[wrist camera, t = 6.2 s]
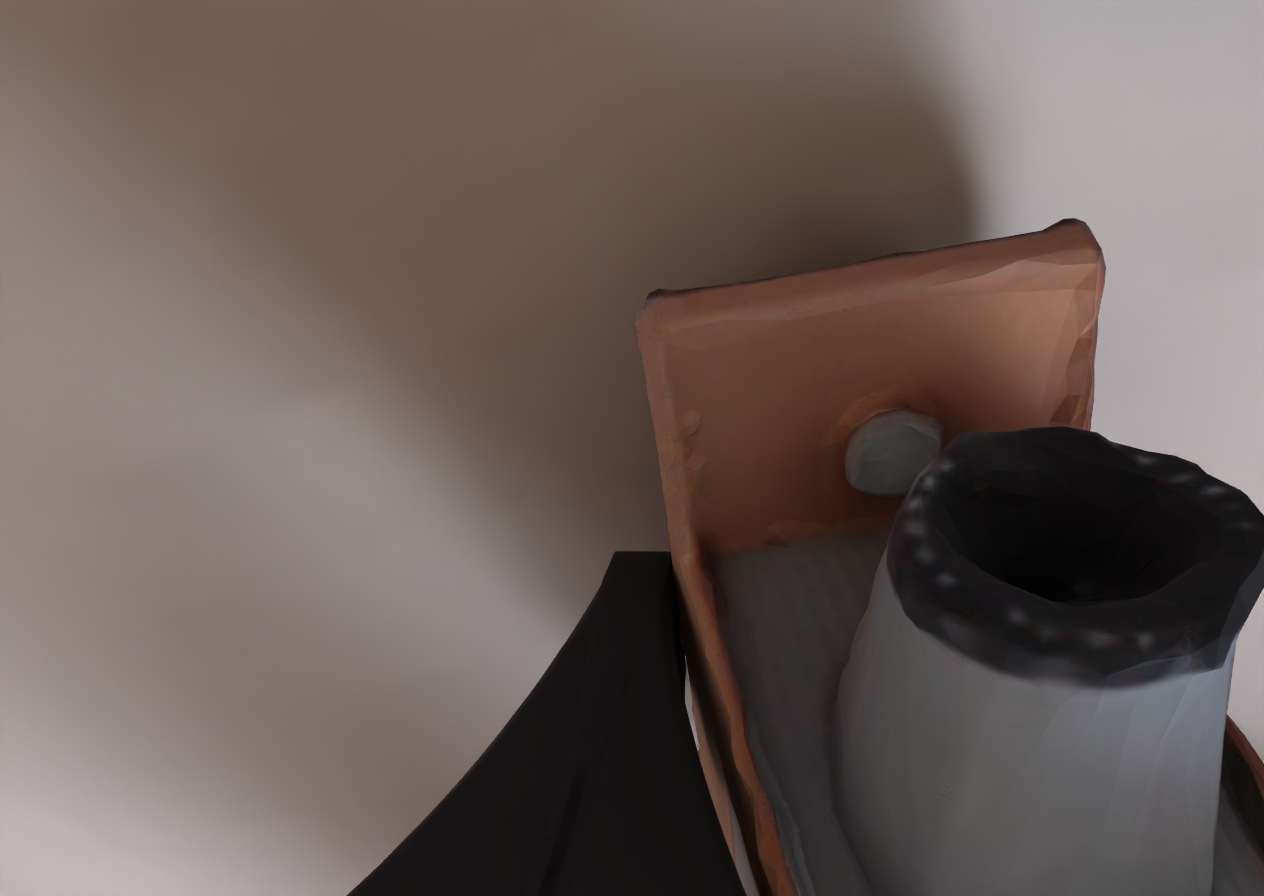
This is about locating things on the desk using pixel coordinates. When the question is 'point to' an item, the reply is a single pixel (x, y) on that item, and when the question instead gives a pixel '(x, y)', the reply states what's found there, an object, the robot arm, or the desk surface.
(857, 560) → the electronic device
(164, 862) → the desk surface
